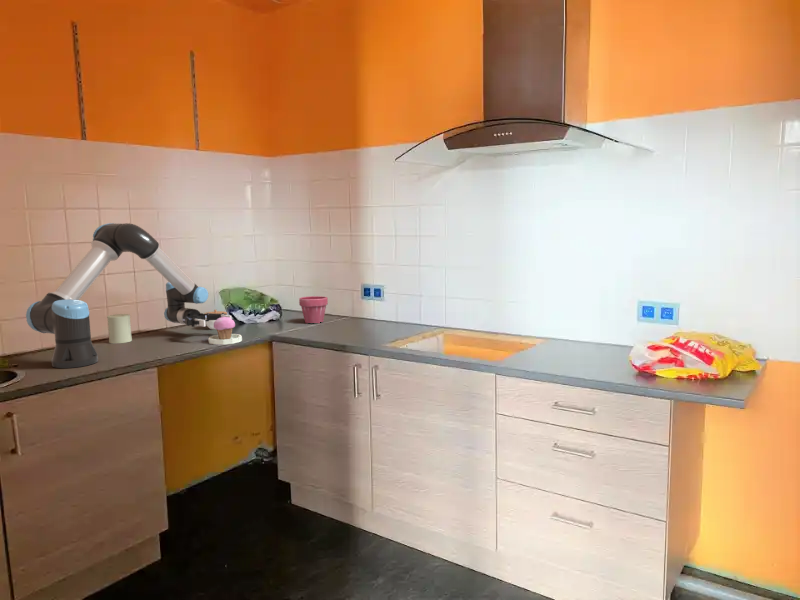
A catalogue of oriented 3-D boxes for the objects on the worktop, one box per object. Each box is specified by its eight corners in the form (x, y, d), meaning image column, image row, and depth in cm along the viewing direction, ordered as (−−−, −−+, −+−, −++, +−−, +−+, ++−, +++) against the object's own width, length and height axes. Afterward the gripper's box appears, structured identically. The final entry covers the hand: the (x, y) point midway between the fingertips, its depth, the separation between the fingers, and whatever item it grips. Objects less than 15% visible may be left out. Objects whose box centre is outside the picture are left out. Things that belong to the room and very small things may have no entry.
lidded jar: (217, 331, 285) (216, 311, 284) (200, 329, 290) (198, 310, 289) (232, 327, 295) (231, 308, 294) (215, 326, 299) (214, 307, 298)
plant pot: (318, 319, 316) (318, 295, 314) (333, 322, 305) (332, 297, 303) (295, 322, 307) (294, 297, 305) (309, 325, 296) (308, 300, 294)
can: (123, 343, 258) (121, 316, 257) (104, 343, 260) (102, 316, 259) (136, 339, 267) (134, 313, 266) (118, 339, 269) (116, 312, 268)
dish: (222, 345, 251) (222, 341, 251) (202, 342, 259) (202, 337, 259) (248, 340, 262) (247, 335, 262) (228, 337, 270) (227, 332, 270)
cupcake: (233, 336, 266) (232, 314, 265) (237, 340, 258) (236, 317, 257) (213, 338, 262) (211, 316, 261) (215, 342, 255) (214, 319, 253)
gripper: (212, 320, 285) (241, 325, 272) (165, 328, 265) (193, 334, 253) (212, 305, 284) (240, 308, 271) (164, 312, 264) (192, 316, 252)
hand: (218, 321), depth 262 cm, fingers open, 13 cm apart
